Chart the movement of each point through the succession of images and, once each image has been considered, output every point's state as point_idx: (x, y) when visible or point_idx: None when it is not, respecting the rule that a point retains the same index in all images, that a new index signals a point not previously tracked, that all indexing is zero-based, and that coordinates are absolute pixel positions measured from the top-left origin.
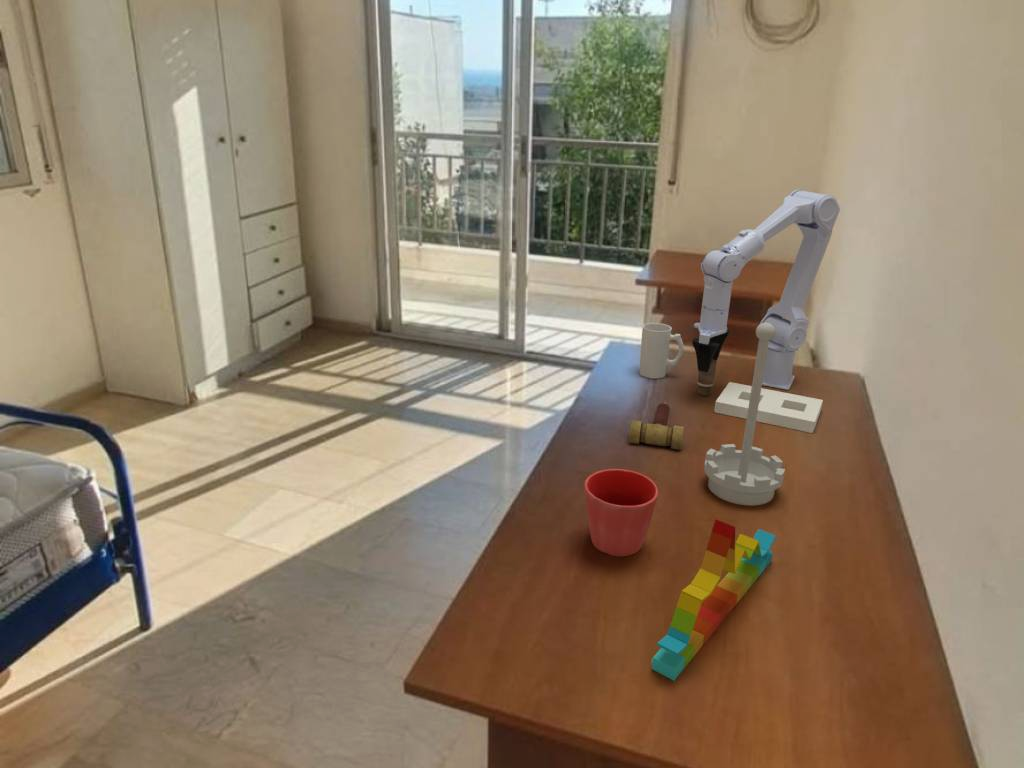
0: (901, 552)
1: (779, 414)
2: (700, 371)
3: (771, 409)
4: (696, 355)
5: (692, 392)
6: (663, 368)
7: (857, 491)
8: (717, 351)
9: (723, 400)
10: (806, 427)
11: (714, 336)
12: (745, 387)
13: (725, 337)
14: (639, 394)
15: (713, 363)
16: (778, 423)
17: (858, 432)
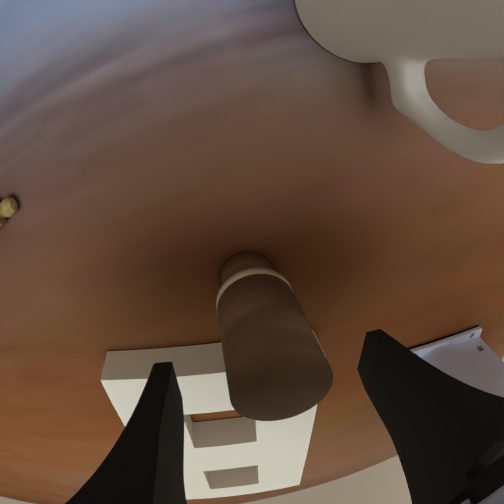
0: (3, 495)
1: None
2: (231, 330)
3: None
4: (118, 441)
5: (236, 231)
6: (356, 50)
7: (53, 496)
8: (385, 412)
9: (130, 394)
10: None
11: (439, 468)
12: None
13: (412, 501)
14: (66, 48)
15: (255, 418)
16: None
17: (229, 499)
